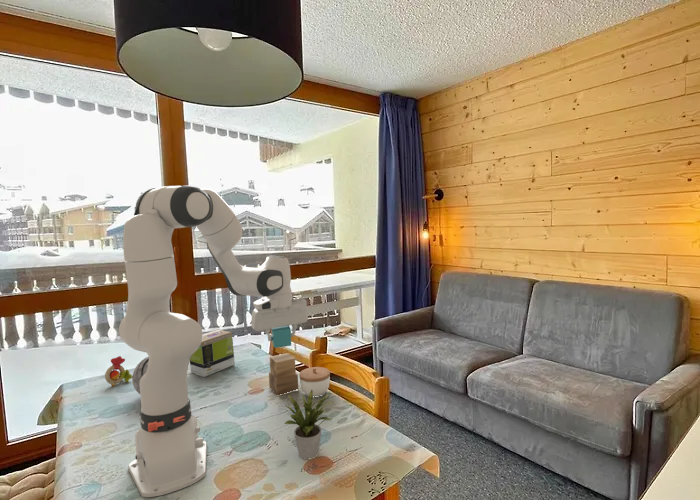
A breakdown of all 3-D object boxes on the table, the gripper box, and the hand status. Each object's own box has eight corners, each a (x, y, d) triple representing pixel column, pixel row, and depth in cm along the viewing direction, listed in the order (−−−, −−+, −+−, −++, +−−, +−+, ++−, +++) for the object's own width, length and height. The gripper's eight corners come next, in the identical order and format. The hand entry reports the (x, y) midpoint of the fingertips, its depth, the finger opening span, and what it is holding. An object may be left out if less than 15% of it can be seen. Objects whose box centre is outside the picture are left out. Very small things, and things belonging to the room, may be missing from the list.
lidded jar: (314, 404, 130) (313, 376, 129) (293, 395, 137) (292, 369, 136) (337, 392, 138) (336, 366, 137) (316, 384, 145) (315, 360, 144)
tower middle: (295, 374, 140) (294, 358, 140) (277, 379, 137) (276, 362, 136) (288, 368, 146) (287, 352, 146) (270, 372, 143) (269, 356, 142)
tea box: (220, 361, 173) (218, 328, 172) (235, 365, 167) (233, 331, 166) (189, 372, 161) (187, 337, 160) (204, 377, 155) (201, 341, 154)
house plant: (344, 466, 97) (342, 402, 95) (288, 478, 93) (285, 412, 92) (331, 435, 110) (328, 379, 109) (281, 445, 106) (278, 387, 105)
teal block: (291, 345, 139) (290, 329, 138) (274, 347, 137) (273, 331, 136) (288, 340, 144) (287, 324, 144) (272, 342, 143) (271, 326, 142)
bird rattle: (119, 392, 149) (138, 374, 156) (105, 370, 144) (125, 353, 152) (108, 389, 152) (128, 372, 159) (94, 368, 147) (115, 352, 154)
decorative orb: (146, 409, 130) (142, 365, 129) (126, 398, 139) (122, 357, 137) (187, 392, 142) (184, 352, 140) (167, 383, 150) (164, 345, 149)
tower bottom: (298, 390, 140) (297, 374, 140) (277, 396, 136) (276, 379, 136) (290, 383, 147) (289, 367, 147) (269, 388, 143) (268, 372, 143)
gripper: (302, 295, 147) (304, 331, 148) (248, 303, 137) (251, 341, 138) (309, 298, 142) (311, 335, 143) (254, 306, 131) (256, 346, 133)
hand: (281, 338), depth 140 cm, fingers closed on teal block, 6 cm apart
